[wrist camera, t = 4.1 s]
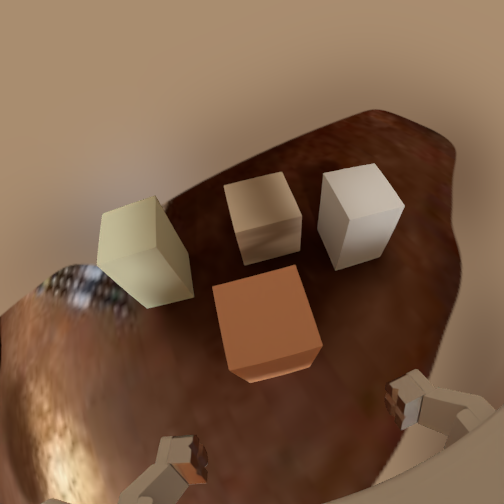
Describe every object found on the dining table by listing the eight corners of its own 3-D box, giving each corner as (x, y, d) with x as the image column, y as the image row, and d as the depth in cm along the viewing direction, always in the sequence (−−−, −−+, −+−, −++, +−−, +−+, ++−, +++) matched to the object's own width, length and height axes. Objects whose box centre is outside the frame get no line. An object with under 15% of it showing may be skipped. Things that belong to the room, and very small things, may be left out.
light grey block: (335, 270, 23) (349, 220, 17) (317, 229, 25) (323, 173, 19) (380, 256, 23) (404, 206, 17) (359, 218, 25) (374, 163, 19)
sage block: (147, 308, 23) (96, 265, 16) (144, 265, 25) (102, 213, 19) (194, 297, 23) (156, 247, 16) (188, 253, 25) (155, 195, 19)
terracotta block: (250, 382, 19) (229, 370, 12) (237, 327, 21) (212, 286, 14) (309, 367, 19) (323, 345, 12) (292, 313, 21) (295, 264, 15)
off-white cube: (244, 266, 24) (234, 232, 20) (233, 221, 27) (223, 185, 22) (300, 251, 24) (301, 215, 20) (283, 209, 27) (281, 171, 23)
